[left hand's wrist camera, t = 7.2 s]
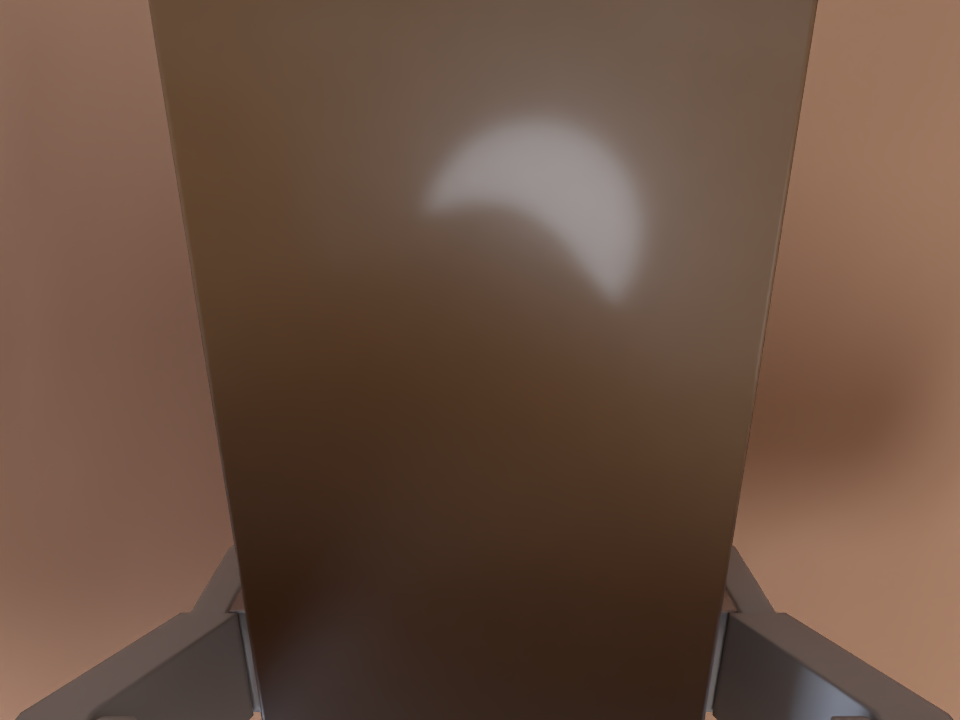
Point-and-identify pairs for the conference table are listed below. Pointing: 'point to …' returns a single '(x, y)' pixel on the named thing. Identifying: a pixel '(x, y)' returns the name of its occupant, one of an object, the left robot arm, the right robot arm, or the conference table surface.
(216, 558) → the conference table surface
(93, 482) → the conference table surface
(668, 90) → the bar
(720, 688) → the left robot arm
